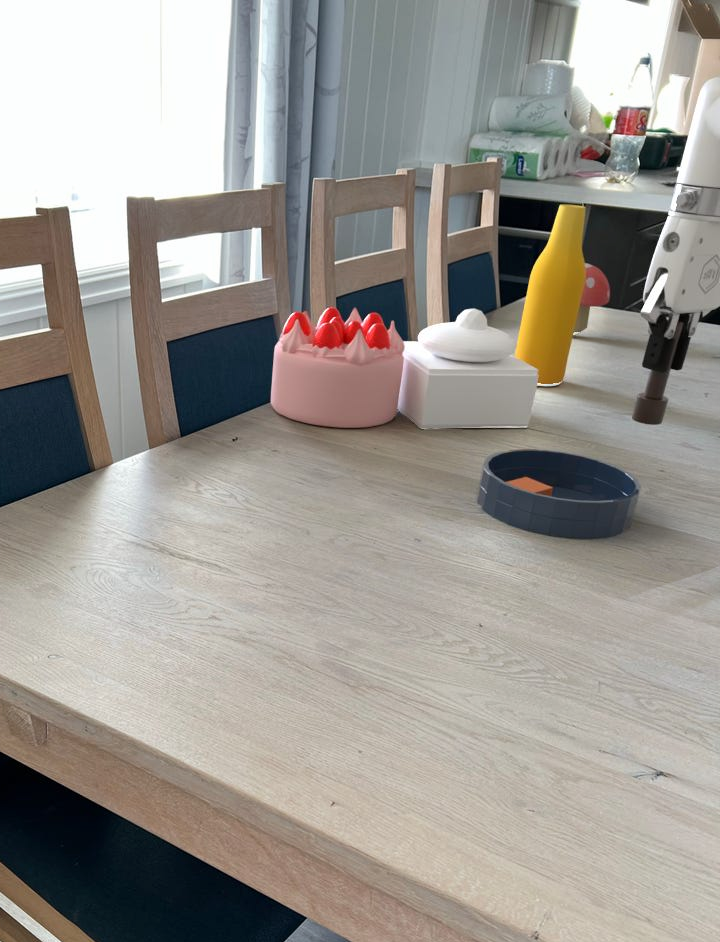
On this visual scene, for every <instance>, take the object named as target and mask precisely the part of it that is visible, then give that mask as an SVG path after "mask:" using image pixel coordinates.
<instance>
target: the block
mask: <svg viewBox="0 0 720 942" xmlns="http://www.w3.org/2000/svg"><path fill="white" fill-rule="evenodd" d="M506 483H508V484H511V485H513V486H515V487H518V488H520V489H524V490H527V491H530V492H533V493H537V494H542V495H546V496H551V495H552V491H553V487H550V486H548V485H545V484H543V483H540V482H538V481H535V480H533V479H530V478H528V477H524V478H520V479H516V480H512V481H508V482H506Z"/></svg>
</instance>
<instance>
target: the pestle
mask: <svg viewBox="0 0 720 942" xmlns="http://www.w3.org/2000/svg"><path fill="white" fill-rule="evenodd" d="M667 321H668V319H667ZM682 327H683V323H682V322H680V321H678V322H677V325H676V329H675V332H674V335H673V337H672V338H674V339H676V341H675V345H674V348H673V352H672V355H671V359H670V362H669V366H668V370H667V371H666V372H664V373H660V372H657V371H654V370H650V371H649V375H648V379H647V382H646V386H645V389H644V392H641V393H638V394H637V396H636V401H635V404H634V408H633V410H632V411H633V412H632V416H631V419H632V420H633V421H635V422H637V423H639V424H644V425H650V426H657V425H661V424H662V423H663V421H664V417H665V413H666V411H667V406H668V403H669V398H668V397H667V396H665V391H666V387H667V383H668V381H669V377H670V374H671V370H672V369H671V366H672V363H673V359H674V356H675V352H676V349H677V345H678V341H679V338H680V334H681V331H682Z"/></svg>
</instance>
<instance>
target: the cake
mask: <svg viewBox="0 0 720 942" xmlns="http://www.w3.org/2000/svg"><path fill="white" fill-rule="evenodd" d="M403 341H404V340H403V339H402V337H401V336H400V334H399V333H398V331H397V329H396V326H395V321H394V320H391V321H390V326H389V328H388V329H387V327H386V326H385V324H384V321H383V318H382V316H381V314H379V313H378V312H370V313H369V314H368V315H367V316H366V317H365V318H364V320H362V318H361V316H360V314H359V311H358V309H357V308H356V307H353V309H352V311H351V313H350V314H349V317H348V318H347V320H346V321H344V320H343V319H342V315H341V313H340V311H339V310H338V309H337V308H336V307H334V306H330V307H328V308H327V307H326V309H325V310H324V311H323V313H322V314H321V315H320V317H319V319H318V321H317V325H316V326H314V324H313V323H312V321H311V319H310V316H309V313H308V311H307V310H305V311H303V312H302V311H295V312H293V313H292V314H290V315H289V317H288V319H287V321H286V322H285V324H284V326H283V329H282V332H281V333H280V335H279V338H278V341H277V342H276V344H275V346H274V352H273V364H272V376H271V389H270V404H271V407H272V408H273V409H274V411H275V412H276V413H278V414H279V415H282V416H283V417H286V418H288V419H291V420H294V421H296V422H301V423H305V424H309V425H314V426H319V427H320V426H321V427H331V428H340V429H341V428H345V429H347V428H349V429H351V428H352V429H353V428H354V429H355V428H357V429H358V428H369V427H375V426H381V425H384V424H387V423H389V422H391V421H392V420H393V419H394V418H395V417H396V415H397V411H398V410H397V407H398V400H399V393H400V386H401V378H402V371H403V364H404V356H403V352H404V349H405V346H404V343H403Z"/></svg>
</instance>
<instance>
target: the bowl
mask: <svg viewBox="0 0 720 942" xmlns="http://www.w3.org/2000/svg"><path fill="white" fill-rule="evenodd" d="M524 477H528V478H530V479H533V480H535V481H538V482H540V483H543V484H545V485H548V486H550V487H553V491H552V495H551V496H546V495H542V494H537V493H533V492H530V491H527V490H524V489H520V488H518V487H515V486H513V485H511V484H508V483H506V482H508V481H512V480H516V479H520V478H524ZM641 490H642V486H641V483H640V481H639V479H637V477H635V476H634V475H633V474H632V473H630V472H628V471H627V470H625V469H623V468H621V467H619V466H617V465H614V464H612V463H610V462H607V461H604V460H601V459H598V458H594V457H590V456H586V455H583V454H579V453H573V452H567V451H560V450H552V449H539V448H538V449H537V448H518V449H508V450H503V451H498V452H495V453H493V454H491V455H489V456H487V457H486V458H485V459H484V461H483V462H482V467H481V472H480V476H479V483H478V488H477V493H476V501H477V504H478V506H479V507H480V509H481V510H483V512H485V513H486V514H487V515H489V516H490V517H492V518H493V519H494V520H495V519H496V520H497V521H499V522H501V523H504V524H506V525H508V526H511V527H513V528H516V529H519V530H521V531H526V532H529V533H534V534H537V535H543V536H547V537H554V538H560V539H568V540H569V539H570V540H601V539H606V538H607V539H608V538H613V537H616V536H619V535H622V534H624V533H625V532H626V531H628V530H629V529H630V528H631V526H632V522H633V519H634V516H635V511H636V507H637V504H638V501H639V497H640V493H641Z"/></svg>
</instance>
